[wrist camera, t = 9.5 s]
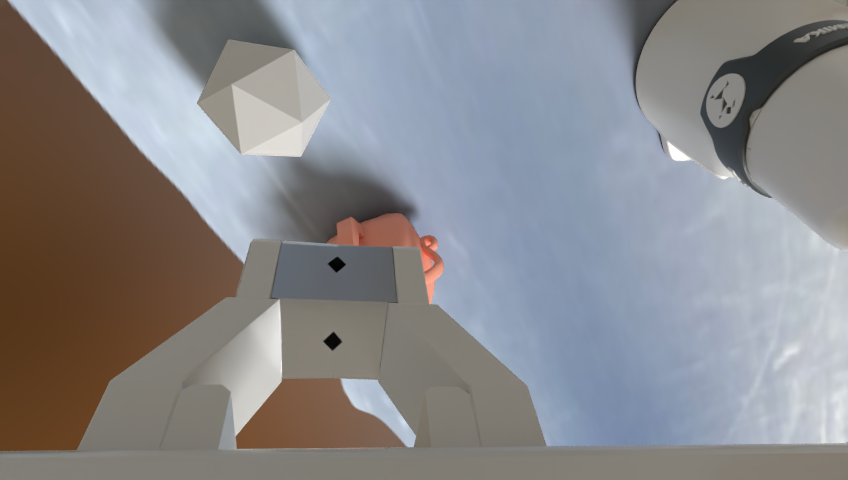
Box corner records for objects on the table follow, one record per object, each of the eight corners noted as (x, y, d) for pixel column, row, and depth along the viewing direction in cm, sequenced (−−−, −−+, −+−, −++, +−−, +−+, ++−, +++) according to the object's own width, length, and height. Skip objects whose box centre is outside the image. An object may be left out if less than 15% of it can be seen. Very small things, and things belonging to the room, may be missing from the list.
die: (213, 16, 42) (155, 119, 38) (304, 2, 38) (250, 115, 34) (277, 90, 49) (234, 184, 45) (360, 84, 45) (320, 186, 41)
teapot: (409, 301, 60) (416, 367, 53) (306, 272, 57) (298, 340, 49) (454, 220, 55) (471, 282, 47) (343, 183, 51) (341, 243, 43)
